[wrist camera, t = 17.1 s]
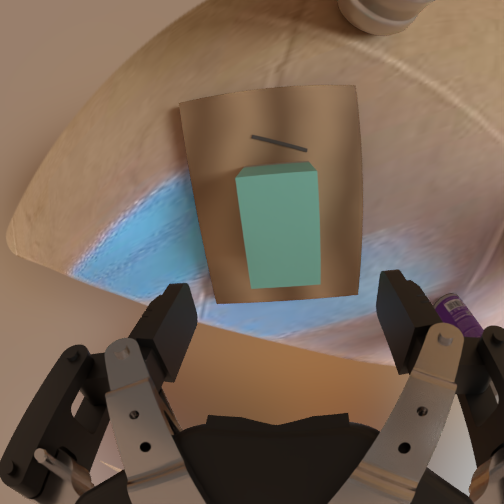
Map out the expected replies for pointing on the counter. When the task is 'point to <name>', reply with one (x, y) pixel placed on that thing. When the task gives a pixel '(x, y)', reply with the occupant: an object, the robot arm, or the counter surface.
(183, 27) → the counter surface
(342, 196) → the oak board
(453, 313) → the container
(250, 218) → the block
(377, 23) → the plastic bottle
